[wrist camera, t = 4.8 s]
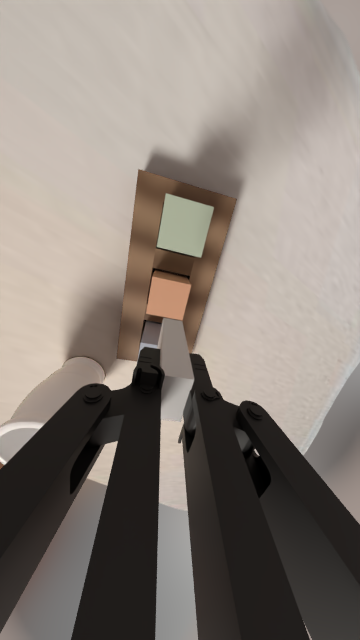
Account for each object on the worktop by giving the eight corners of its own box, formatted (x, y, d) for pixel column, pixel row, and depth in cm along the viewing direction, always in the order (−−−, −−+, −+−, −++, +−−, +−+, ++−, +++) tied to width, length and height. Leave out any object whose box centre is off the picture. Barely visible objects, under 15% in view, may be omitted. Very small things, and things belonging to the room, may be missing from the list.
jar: (100, 399, 40) (65, 482, 26) (50, 384, 37) (-18, 466, 23) (118, 362, 36) (88, 435, 23) (64, 343, 34) (-5, 412, 20)
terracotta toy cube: (155, 268, 29) (152, 276, 22) (185, 275, 30) (191, 284, 23) (150, 297, 31) (146, 313, 24) (178, 303, 32) (182, 320, 25)
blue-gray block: (146, 320, 31) (140, 342, 24) (175, 325, 32) (177, 348, 25) (141, 345, 33) (135, 372, 26) (169, 349, 33) (170, 377, 27)
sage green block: (165, 207, 25) (165, 193, 18) (201, 216, 25) (214, 207, 19) (159, 245, 26) (156, 246, 20) (192, 254, 27) (201, 257, 20)
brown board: (141, 177, 25) (138, 169, 22) (229, 203, 27) (236, 199, 24) (120, 349, 35) (116, 358, 32) (185, 359, 37) (186, 368, 34)
